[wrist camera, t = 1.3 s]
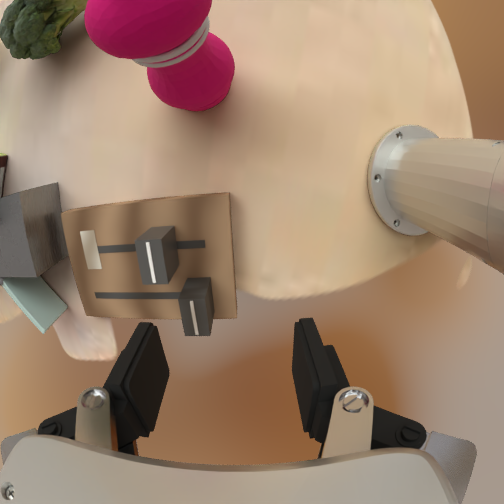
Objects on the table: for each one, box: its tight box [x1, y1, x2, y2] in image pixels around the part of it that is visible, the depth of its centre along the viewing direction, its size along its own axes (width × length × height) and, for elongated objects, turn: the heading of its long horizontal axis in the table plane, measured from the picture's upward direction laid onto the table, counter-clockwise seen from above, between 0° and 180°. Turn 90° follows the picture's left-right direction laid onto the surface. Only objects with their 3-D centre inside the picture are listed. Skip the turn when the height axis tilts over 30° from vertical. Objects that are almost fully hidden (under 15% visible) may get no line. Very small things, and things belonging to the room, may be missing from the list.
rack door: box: [0, 276, 68, 334], centre depth 26 cm, size 10×2×6 cm, turn 42°
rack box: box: [0, 182, 69, 277], centre depth 23 cm, size 9×9×7 cm
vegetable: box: [0, 0, 88, 60], centre depth 13 cm, size 12×13×15 cm
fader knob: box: [135, 226, 179, 285], centre depth 23 cm, size 2×4×4 cm, turn 2°
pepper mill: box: [84, 0, 235, 111], centre depth 13 cm, size 7×7×20 cm
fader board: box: [61, 193, 237, 336], centre depth 25 cm, size 19×13×6 cm
